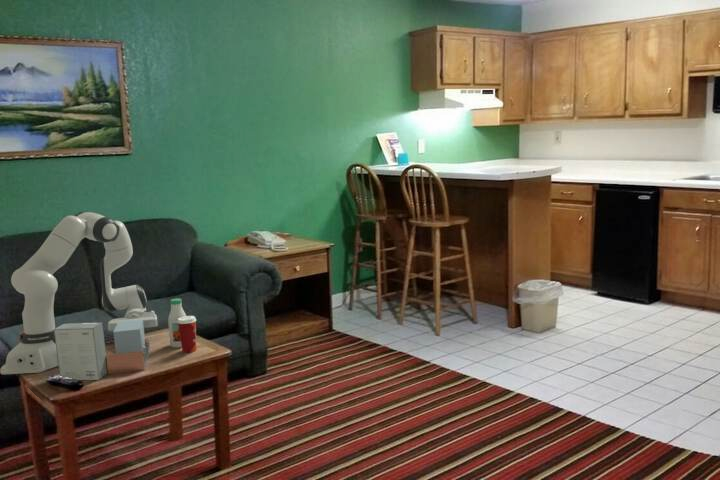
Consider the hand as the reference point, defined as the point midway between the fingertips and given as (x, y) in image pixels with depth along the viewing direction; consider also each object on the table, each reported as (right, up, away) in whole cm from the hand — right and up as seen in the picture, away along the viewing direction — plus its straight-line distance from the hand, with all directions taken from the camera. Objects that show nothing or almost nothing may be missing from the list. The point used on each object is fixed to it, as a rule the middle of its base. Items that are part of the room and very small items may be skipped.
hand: (131, 328), depth 275 cm
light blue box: (+3, -6, -9) cm, 11 cm away
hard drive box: (-7, -14, -31) cm, 35 cm away
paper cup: (+26, -9, -6) cm, 28 cm away
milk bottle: (+20, -8, +2) cm, 21 cm away
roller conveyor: (+4, -11, -13) cm, 17 cm away
